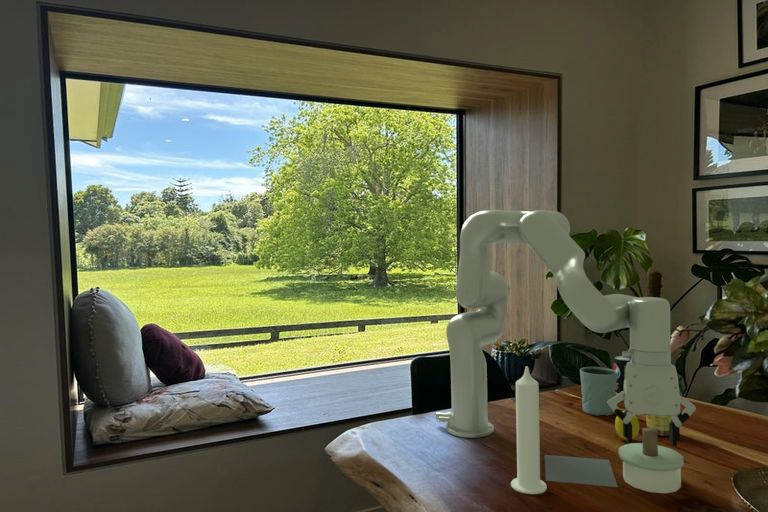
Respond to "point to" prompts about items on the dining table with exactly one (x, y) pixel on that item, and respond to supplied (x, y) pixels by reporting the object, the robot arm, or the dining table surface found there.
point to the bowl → (652, 479)
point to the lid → (651, 454)
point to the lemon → (620, 427)
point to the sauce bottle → (659, 424)
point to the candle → (528, 437)
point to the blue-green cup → (597, 389)
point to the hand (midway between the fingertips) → (650, 442)
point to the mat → (579, 470)
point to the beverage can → (620, 372)
